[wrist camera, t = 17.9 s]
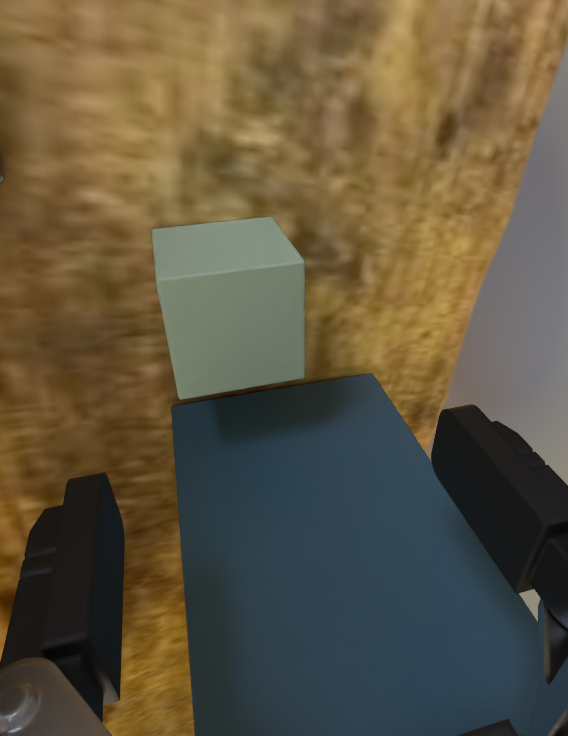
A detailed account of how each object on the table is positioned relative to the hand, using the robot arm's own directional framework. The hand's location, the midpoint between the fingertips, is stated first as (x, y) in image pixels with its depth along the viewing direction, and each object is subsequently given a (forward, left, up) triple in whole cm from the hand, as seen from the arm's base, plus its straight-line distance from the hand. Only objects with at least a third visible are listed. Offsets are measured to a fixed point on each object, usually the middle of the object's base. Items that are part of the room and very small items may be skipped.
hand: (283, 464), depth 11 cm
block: (0, 0, -10) cm, 10 cm away
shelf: (+12, -3, -1) cm, 12 cm away
